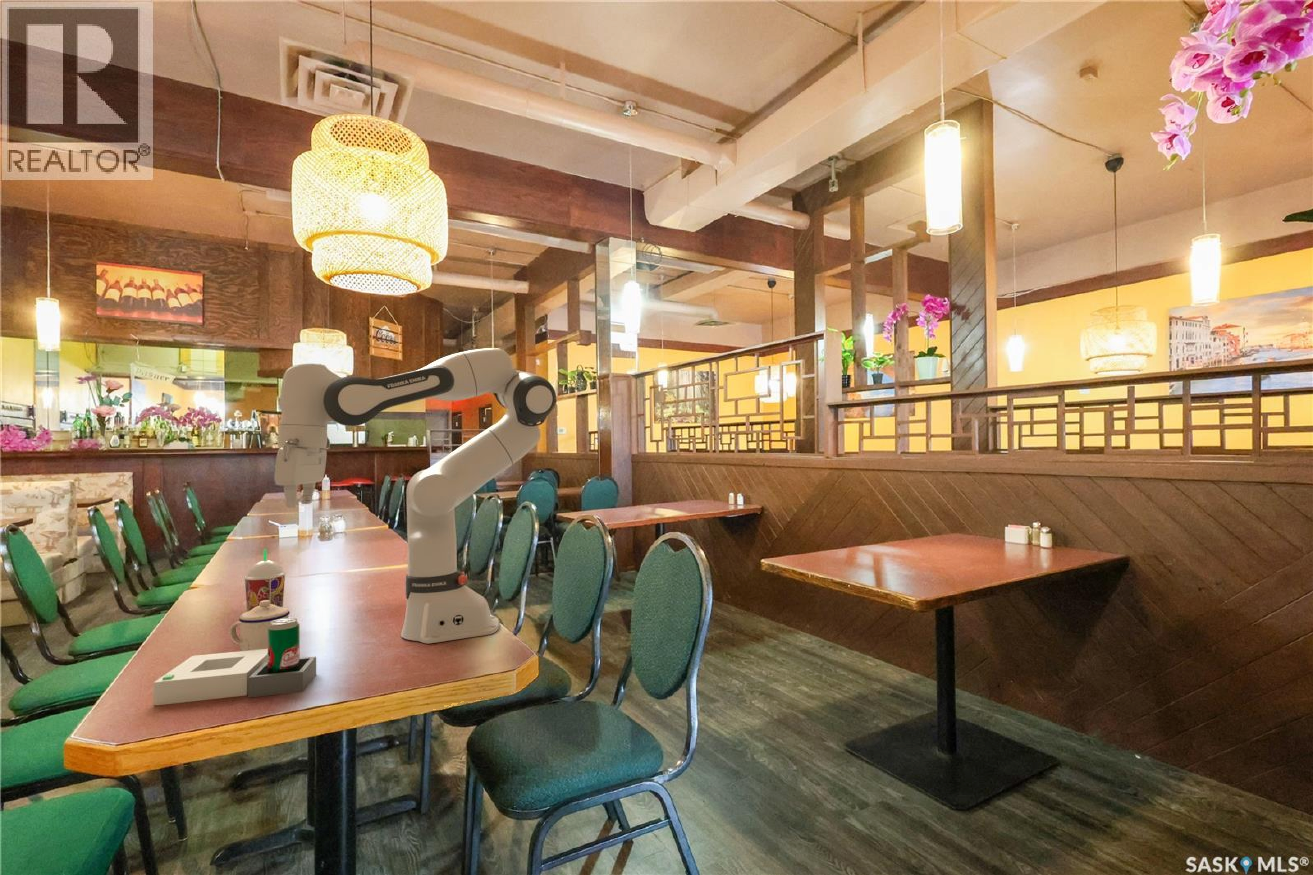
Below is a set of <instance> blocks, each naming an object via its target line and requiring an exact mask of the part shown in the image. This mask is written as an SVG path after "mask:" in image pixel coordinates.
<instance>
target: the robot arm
mask: <svg viewBox="0 0 1313 875" xmlns="http://www.w3.org/2000/svg"><path fill="white" fill-rule="evenodd" d="M282 376H283V377H282V381H281V388H280V398H279V399H280V400H279V406H280V408H281V416H280V419H279V422H278V432H277V434H278V435H277V436H278V437H277V447H278V448H279V449H278V450H277V454H276V461H275V467H274V477H273V478H274V482H275V485H276V486H283V493H284V497H285V507H286V508H291V509H292V508H297V507H298V506H299V498H298V490H299V488H298V487H299V486H300V485H302V494H301V497H300V499H301V500H300V503H301V504H302V505H310V504H312V503H313V495H314V492H315V489H316V483H320V482H322V481H323V479H324V477H325V472H326V464H327V457H328V455H327V454H328V453H327V450H330V446H331V441H330V439H329V437H328V424H329V423H336V424H339V425H341V426H345V427H358V426H362V425H364V424H366V423H368V422H369V421H371V420H372V419H374V418H375V417H376V416H378V414H380V413H381V412H383V411H386V410H387V409H390V408H393V407H397V406H400V405H401V406H402V405H405V404H408V403H412V402H417V401H420V400H426V399H427V400H428V399H430V400H431V399H435V400H439V401H443V402H457V401H463V400H468V399H472V398H476V397H479V396H482V395H485V394H493V395H494V397H495V399H496V401H497V403H499V404H500V406H501V407H503V408H504V409H505V410H506V411H505V414H504V415H502V416H503V417H502V418H501V419H500V420H498V422H496V423H494V424H493V425H491V426H490V427H488V428H487V429H485V430H483V431H482V432H480V433H479V434H476V436H474V437H472V438H471V439H470V440H469V439H468V441H467V442H465V443H463V444H462V445H460V446H458V447H457V448H456V449H455V450H453V451H452V452H451V453H449V454H447V455H446V456H444V457H443V458H442V459H441V460H438V461H437V462H436V463H434V464H433V465H432V466H430V467H428V468H426V469H422V470H420V471H418V472H416V473H415V474H413V476H412V477H411V478H410V479H409V481H408V483H407V486H406V527H407V528H406V532H407V533H406V534H407V537H406V538H407V574H406V575H405V579H404V580H405V582H404V583H405V585H404V586H405V588H404V590H405V591H404V592H405V593H404V594H405V598H406V606H405V616H404V621H403V625H402V630H401V632H400V637H401V638H402V639H404V640H409V641H413V642H414V641H415V642H421V643H423V644H427V645H428V644H434V643H441V642H447V641H454V640H461V639H467V638H475V637H481V636H488V635H492V634H494V633H496V632H497V631H499V629H500V627H501V626H500V619H499V618H498V617H497V616H495V615H491V610H490V606H489V602H488V601H487V600H486V598H485V597H484V596H482V595H481V594H479V593H477V592H476V591H474V590H473V589H471V588H470V587H469V586H467V585H466V583H467V581H468V576H467V575H466V573H465V572H464V571H461V570H458V566H457V564H458V563H457V561H458V560H457V559H458V558H457V557H458V555H457V553H458V552H457V547H458V546H457V544H458V543H457V542H458V541H457V532H456V531H457V530H456V516H455V508H456V507H458V506H459V505H460V504H462V503H463V502H464V501H466V500H467V499H468V498H470V497H471V496H472V495H473V494H474V493H476V492H477V491H478V490H480V489H481V488H482V487H483V486H484V485H485V484H487V483H488V482H490V481H491V480H493V479H494V478H496V477H497V476H498V475H500V474H501V473H503V472H504V471H506V470H507V469H509V468H510V467H511V466H513V465H514V464H516V463H517V462H518V461H520V460H521V459H522V458H524V457H525V456H526V455H528V454H529V452H530V451H531V450H532V449H534V447H536V445H537V444H538V443H539V441H540V440H541V435H542V434H541V430H540V427H539V426H541V425H543V424H544V422H545V421H546V419H547V416H549V415H550V414H551V412H552V411H553V409H554V407H555V405H556V403H557V393H556V390H555V387H553V385H552V383H550V382H549V381H548V380H547V379H546V378H544V377H543V376H539V375H537V374H535V373H533V372H529V371H522V370H519V369H515V367H514V363H513V360H512V358H511V356H510V355H509V354H508V352H506V351H505V350H504V349H502V348H497V347H490V348H489V347H486V348H478V349H477V348H476V349H471V350H466V351H460V352H458V353H452V354H450V355H447V356H443V357H442V358H441V357H440V358H438V359H437V360H435V361H433V362H431V363H429V364H428V365H425V366H424V367H422V368H420V369H417V370H413V371H409V372H404V373H400V374H395V375H392V376H387V377H381V378H368V377H362V376H361V377H360V376H341V375H339V374H337V372H334V371H333V370H331V369H330V368H328V367H327V365H325V364H322V363H313V362H311V363H299V364H295V365H292V366H290V367H288V369H286V370H285V372H284V373H283V375H282Z"/></svg>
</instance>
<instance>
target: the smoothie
mask: <svg viewBox="0 0 1313 875" xmlns="http://www.w3.org/2000/svg"><path fill="white" fill-rule="evenodd" d="M267 553H268V551H267V548H264V549H263V559H262V560H260V561H257V562H256V563H254V564H252V566H250V567H249V569H248V570H247V573H246V575H245V576H244V586H245V587H244V588H245V597H246V598H245V600H246V601H245V602H246V612H248V611H250V610H252V609H253V608H255V607H257V606H260V605H259V603H260V601H263V600H269V601H270V604H273V605H276V606H279V607H284V594H285V593H284V592H285V578H286V572H285V570H284V569H283V568H282V566H281V565H280V564H279V563H278V562H276V561H274V560H270V559H267V558H268V556H267V555H268V554H267Z"/></svg>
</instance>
